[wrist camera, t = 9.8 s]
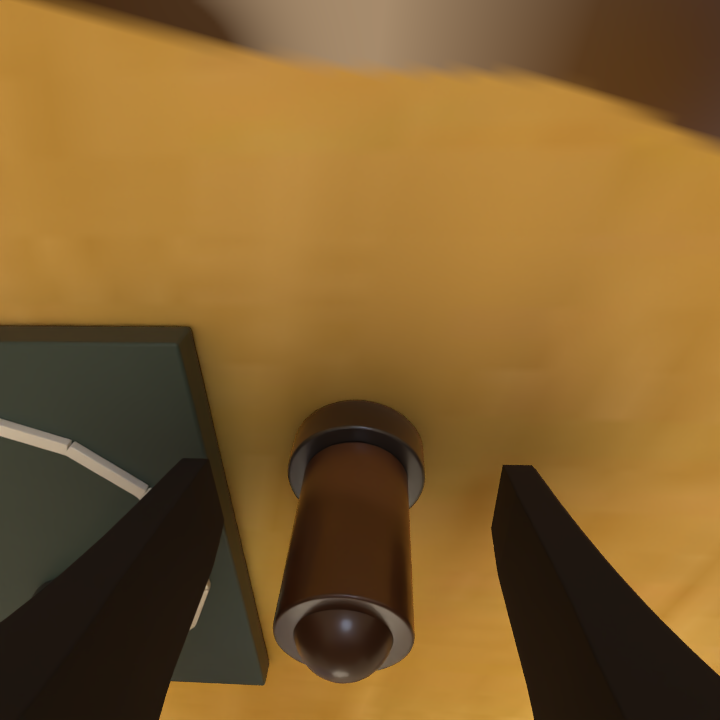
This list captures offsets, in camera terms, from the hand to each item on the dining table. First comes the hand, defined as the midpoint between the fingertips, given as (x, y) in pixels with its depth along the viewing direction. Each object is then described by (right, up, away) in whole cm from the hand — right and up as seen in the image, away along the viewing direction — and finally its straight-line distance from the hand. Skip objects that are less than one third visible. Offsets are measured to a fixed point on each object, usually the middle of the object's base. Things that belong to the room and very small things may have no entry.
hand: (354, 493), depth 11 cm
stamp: (0, +1, +1) cm, 1 cm away
